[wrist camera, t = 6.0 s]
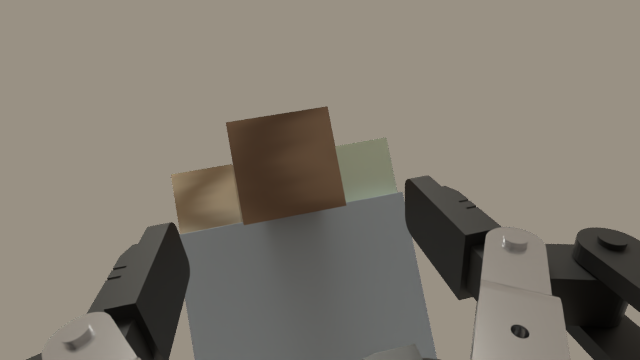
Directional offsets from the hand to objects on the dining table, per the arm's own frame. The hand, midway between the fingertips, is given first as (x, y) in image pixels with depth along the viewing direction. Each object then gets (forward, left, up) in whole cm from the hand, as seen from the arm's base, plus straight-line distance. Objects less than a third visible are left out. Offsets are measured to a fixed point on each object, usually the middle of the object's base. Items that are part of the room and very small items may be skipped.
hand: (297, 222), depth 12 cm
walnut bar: (0, +12, 0) cm, 12 cm away
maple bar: (-6, +17, 0) cm, 18 cm away
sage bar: (+5, +17, 0) cm, 18 cm away
